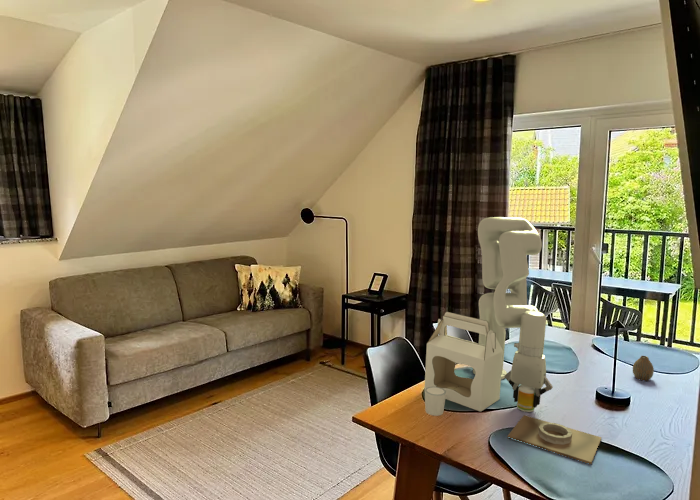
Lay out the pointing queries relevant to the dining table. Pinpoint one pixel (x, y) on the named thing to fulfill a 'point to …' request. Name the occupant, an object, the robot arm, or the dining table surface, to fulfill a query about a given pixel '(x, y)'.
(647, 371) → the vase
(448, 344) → the gable box
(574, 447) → the socket board
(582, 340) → the dining table surface
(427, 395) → the white cup
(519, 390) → the supplement bottle
